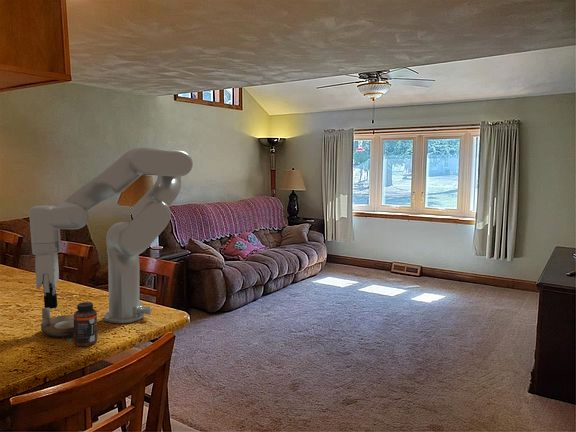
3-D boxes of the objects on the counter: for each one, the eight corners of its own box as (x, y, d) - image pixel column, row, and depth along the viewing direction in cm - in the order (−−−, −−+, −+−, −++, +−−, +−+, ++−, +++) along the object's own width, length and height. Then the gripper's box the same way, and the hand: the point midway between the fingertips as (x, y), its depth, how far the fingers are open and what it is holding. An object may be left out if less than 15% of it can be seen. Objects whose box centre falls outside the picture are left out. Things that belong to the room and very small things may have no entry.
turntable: (81, 316, 142) (80, 296, 141) (96, 327, 132) (96, 306, 132) (35, 325, 133) (35, 304, 132) (48, 337, 123) (48, 315, 123)
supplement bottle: (99, 344, 124) (98, 305, 122) (76, 348, 120) (75, 308, 119) (94, 337, 128) (94, 299, 127) (72, 341, 125) (71, 302, 124)
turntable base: (92, 326, 137) (92, 322, 137) (70, 341, 125) (70, 337, 125) (59, 324, 138) (58, 321, 138) (34, 340, 125) (34, 336, 125)
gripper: (36, 244, 136) (41, 301, 138) (26, 253, 122) (32, 317, 124) (64, 242, 138) (68, 299, 141) (57, 251, 124) (61, 314, 127)
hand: (51, 307), depth 132 cm, fingers closed
